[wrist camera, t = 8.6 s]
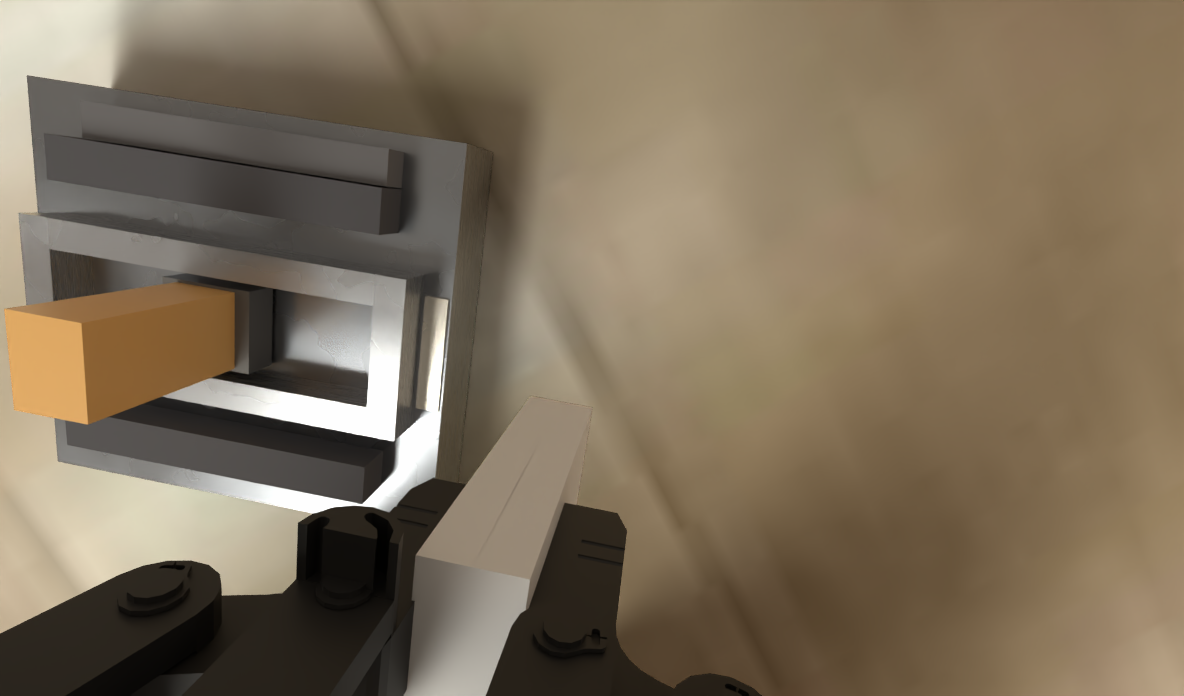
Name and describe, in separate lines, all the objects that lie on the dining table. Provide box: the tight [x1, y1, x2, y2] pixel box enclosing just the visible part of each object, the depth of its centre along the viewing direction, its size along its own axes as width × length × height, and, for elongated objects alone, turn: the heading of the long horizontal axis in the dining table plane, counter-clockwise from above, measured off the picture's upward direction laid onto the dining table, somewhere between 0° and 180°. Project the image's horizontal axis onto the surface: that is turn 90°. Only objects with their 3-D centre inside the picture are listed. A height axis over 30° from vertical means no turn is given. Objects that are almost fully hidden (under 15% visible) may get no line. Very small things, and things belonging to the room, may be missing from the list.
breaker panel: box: [18, 75, 493, 513], centre depth 21 cm, size 15×14×4 cm
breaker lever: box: [4, 273, 273, 425], centre depth 17 cm, size 3×3×6 cm
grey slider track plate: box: [44, 100, 404, 504], centre depth 20 cm, size 11×12×1 cm
